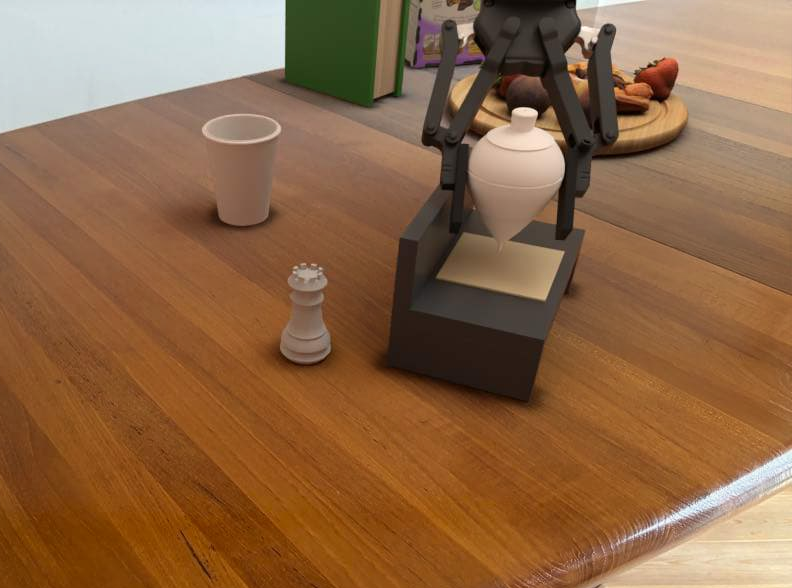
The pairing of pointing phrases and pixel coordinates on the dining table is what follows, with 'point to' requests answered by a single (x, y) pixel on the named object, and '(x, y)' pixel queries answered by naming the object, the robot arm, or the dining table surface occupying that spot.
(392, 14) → the hardback book
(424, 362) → the dark l-shaped stand
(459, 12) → the candy box
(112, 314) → the dining table surface
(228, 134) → the dixie cup
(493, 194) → the spinning top
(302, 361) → the rook chess piece
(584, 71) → the wooden plate
